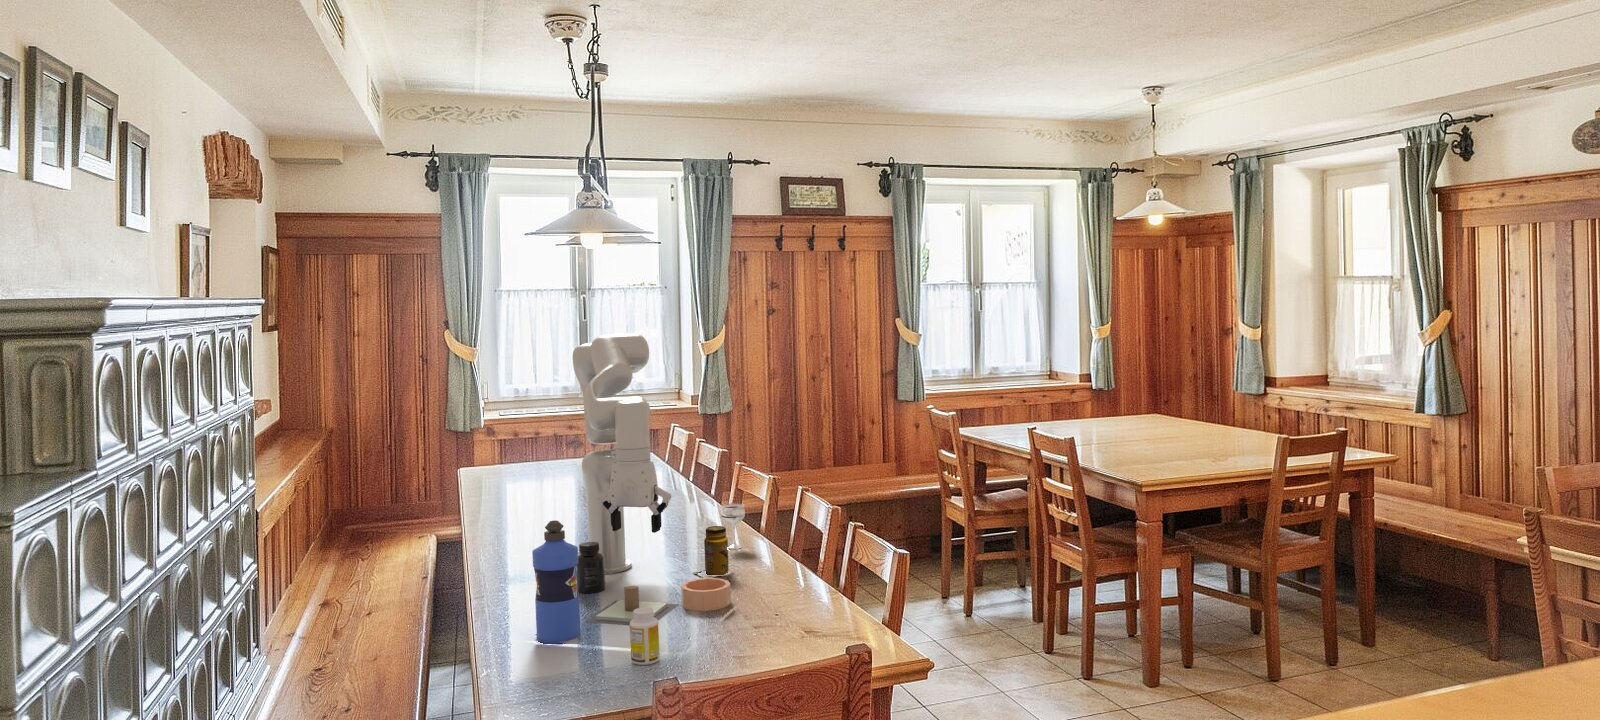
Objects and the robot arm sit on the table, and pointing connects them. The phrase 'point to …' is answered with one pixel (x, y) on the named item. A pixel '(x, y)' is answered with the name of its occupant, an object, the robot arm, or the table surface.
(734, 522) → the wineglass
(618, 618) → the lid
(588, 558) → the supplement bottle
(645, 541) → the table surface
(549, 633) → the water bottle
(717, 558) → the condiment
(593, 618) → the mat
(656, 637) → the supplement bottle
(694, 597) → the bowl
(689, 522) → the table surface
